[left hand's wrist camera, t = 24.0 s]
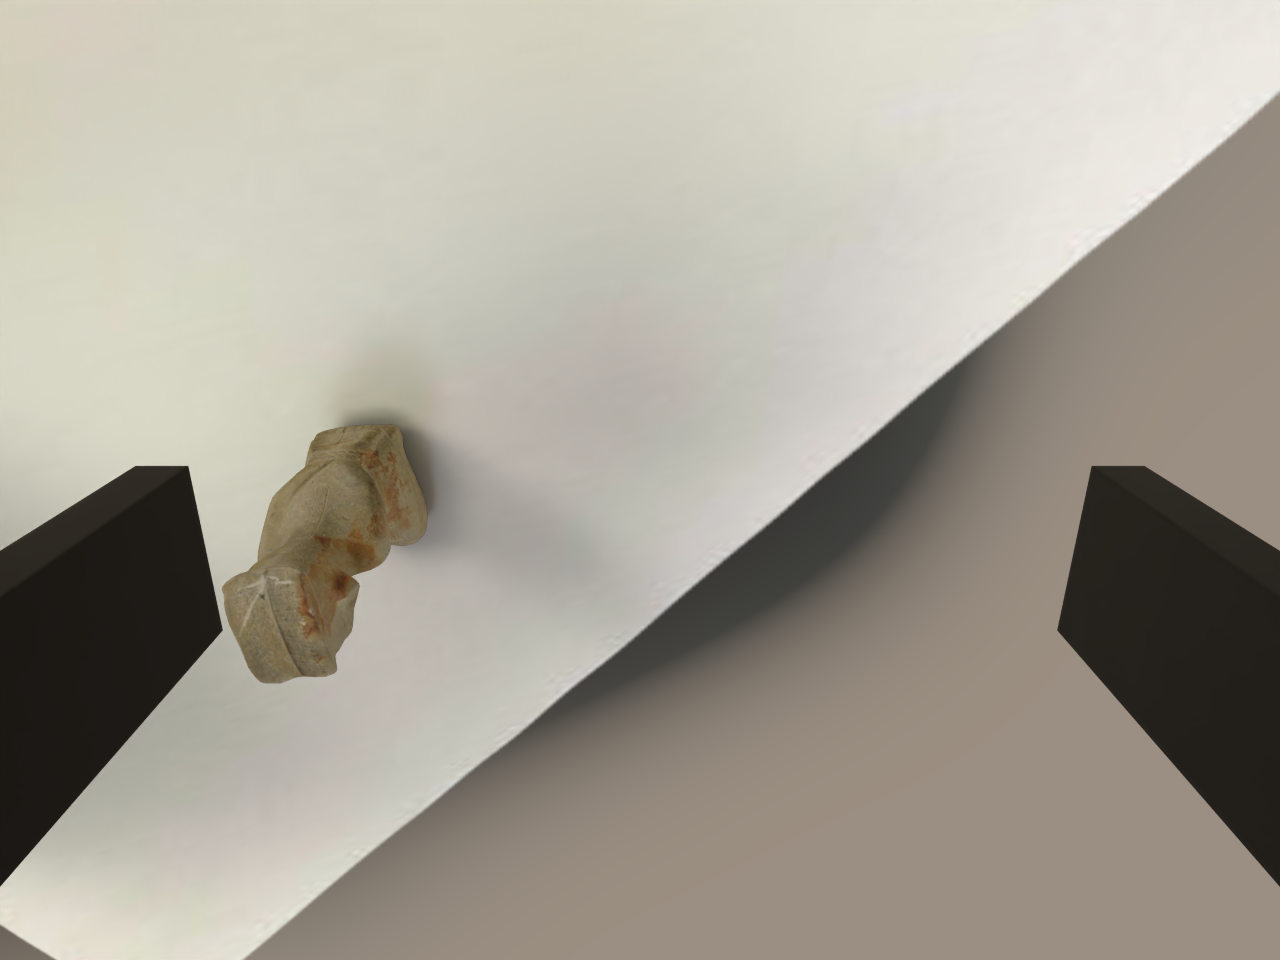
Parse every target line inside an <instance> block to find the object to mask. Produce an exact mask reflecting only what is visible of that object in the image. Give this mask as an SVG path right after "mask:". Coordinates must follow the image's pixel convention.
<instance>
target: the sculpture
mask: <svg viewBox="0 0 1280 960" xmlns="http://www.w3.org/2000/svg"><path fill="white" fill-rule="evenodd" d="M426 527H427V509H426V504H425V500H424V497H423V495H422V492H421V489H420V487H419V484H418V482H417V480H416V477H415V475H414V472H413V470H412V468H411V467H410V464H409V462H408V459H407V457H406V454H405V451H404V447H403V436H402V434H401V432H400V430H399V429H398V427H397V426H395V425H359V426H349V427H340V428H335V429H330V430H326V431H323V432H320V433H318V434H317V435H316V437H315V439H314V440H313V441H312V442H311V445H310V448H309V451H308V455H307V459H306V465H305V468H304V469H302V470H301V471H300V472H298V473H297V474H296V475H295V476H294V477H293V478H292V479H291V480H290V481H288V482H287V483H286V484H285V485H284V486H283V487H282V488H281V489H280V490H279V491H278V492H277V493H276V494H275V495H274V497H273V498H272V500H271V503H270V505H269V508H268V512H267V516H266V519H265V523H264V527H263V531H262V535H261V540H260V545H259V550H258V562H257V563H255V564H254V565H253V566H252V567H251V568H250V570H249V571H248V572H245V573H241V574H239V575H237V576H235V577H233V578H231V579H230V580H229V581H227V582H226V583H225V584H224V585H223V587H222V591H223V594H224V606H225V611H226V615H227V619H228V622H229V625H230V627H231V630H232V632H233V634H234V636H235V638H236V640H237V642H238V644H239V646H240V648H241V650H242V653H243V655H244V658H245V660H246V663H247V665H248V668H249V669H250V671H251V672H252V673H253V675H254V676H255V677H256V678H257V679H258V680H259V681H260V682H262V683H283V682H285V681H288V680H291V679H293V678H296V677H303V676H304V677H325V676H329V675H331V674H334V673H335V672H336V671H337V664H336V658H335V654H336V653H337V652H338V650H339V649H340V647H341V645H342V644H343V642H344V640H345V639H346V638H347V637H348V635H349V634H350V633H351V631H352V627H353V613H354V606H355V603H356V599H357V595H358V591H359V583H358V582H357V581H356V580H355V579H354V578H352V577H351V576H353V575H356V574H358V573H362V572H365V571H368V570H371V569H373V568H375V567H377V566H379V565H380V564H381V563H383V562H384V560H385V559H386V557H387V556H388V554H389V552H390V546H391V545H399V546H404V545H410V544H413V543H415V542H417V541H418V540H419V539H420V538H421V537H422V536H423V535H424V533H425V531H426Z"/></svg>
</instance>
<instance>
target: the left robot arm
mask: <svg viewBox="0 0 1280 960" xmlns="http://www.w3.org/2000/svg"><path fill="white" fill-rule="evenodd" d="M1057 630H1058V632H1059V633H1060V634H1061V635H1062V636H1063V637H1064V639H1065V640H1066V641H1067V642H1068V643H1069V644H1070V645H1071V647H1072V648H1073V649H1074V650H1075V651H1076V652H1077V653H1078V655H1079V656H1080V657H1081V658H1082V659H1083V660H1084V662H1085V663H1086V664H1087V665H1088V666H1089V667H1090V669H1091V670H1092V671H1093V672H1094V673H1095V674H1096V675H1097V677H1098V678H1099V679H1100V680H1101V681H1102V682H1103V683H1104V685H1105V686H1106V687H1107V688H1108V689H1109V690H1110V692H1111V693H1112V694H1113V695H1114V696H1115V697H1116V698H1117V700H1118V701H1119V702H1120V703H1121V704H1122V705H1123V707H1124V708H1125V709H1126V710H1127V711H1128V712H1129V713H1130V715H1131V716H1132V717H1133V718H1134V719H1135V720H1136V721H1137V723H1138V724H1139V725H1140V726H1141V727H1142V728H1143V730H1144V731H1145V732H1146V733H1147V734H1148V735H1149V736H1150V738H1151V739H1152V740H1153V741H1154V742H1155V743H1156V745H1157V746H1158V747H1159V748H1160V749H1161V750H1162V751H1163V753H1164V754H1165V755H1166V756H1167V757H1168V758H1169V760H1170V761H1171V762H1172V763H1173V764H1174V765H1175V766H1176V768H1177V769H1178V770H1179V771H1180V772H1181V773H1182V774H1183V776H1184V777H1185V778H1186V779H1187V780H1188V781H1189V783H1190V784H1191V785H1192V786H1193V787H1194V788H1195V789H1196V791H1197V792H1198V793H1199V794H1200V795H1201V796H1202V798H1203V799H1204V800H1205V801H1206V802H1207V803H1208V804H1209V806H1210V807H1211V808H1212V809H1213V810H1214V811H1215V813H1216V814H1217V815H1218V816H1219V817H1220V818H1221V819H1222V821H1223V822H1224V823H1225V824H1226V825H1227V826H1228V827H1229V829H1230V830H1231V831H1232V832H1233V833H1234V834H1235V836H1236V837H1237V838H1238V839H1239V840H1240V841H1241V842H1242V844H1243V845H1244V846H1245V847H1246V848H1247V849H1248V851H1249V852H1250V853H1251V854H1252V855H1253V856H1254V857H1255V858H1256V860H1257V861H1258V862H1259V863H1260V864H1261V865H1262V867H1263V868H1264V869H1265V870H1266V871H1267V872H1268V874H1269V875H1270V876H1271V877H1272V878H1273V879H1274V880H1275V882H1276V883H1277V884H1278V885H1279V886H1280V551H1279V550H1277V549H1276V548H1274V547H1273V546H1271V545H1269V544H1268V543H1266V542H1265V541H1263V540H1261V539H1260V538H1258V537H1257V536H1255V535H1254V534H1252V533H1250V532H1249V531H1247V530H1246V529H1244V528H1242V527H1241V526H1239V525H1238V524H1236V523H1234V522H1233V521H1231V520H1230V519H1228V518H1226V517H1225V516H1223V515H1222V514H1220V513H1218V512H1217V511H1215V510H1214V509H1212V508H1211V507H1209V506H1207V505H1206V504H1204V503H1203V502H1201V501H1199V500H1198V499H1196V498H1195V497H1193V496H1191V495H1190V494H1188V493H1187V492H1185V491H1183V490H1182V489H1180V488H1179V487H1177V486H1175V485H1174V484H1172V483H1171V482H1169V481H1167V480H1166V479H1164V478H1163V477H1161V476H1159V475H1158V474H1156V473H1155V472H1153V471H1151V470H1150V469H1148V468H1147V467H1145V466H1092V467H1091V472H1090V477H1089V482H1088V487H1087V491H1086V496H1085V501H1084V505H1083V510H1082V515H1081V520H1080V525H1079V529H1078V534H1077V539H1076V544H1075V548H1074V553H1073V558H1072V563H1071V567H1070V572H1069V577H1068V582H1067V587H1066V591H1065V596H1064V601H1063V606H1062V610H1061V615H1060V620H1059V625H1058V629H1057ZM222 631H223V629H222V625H221V620H220V615H219V610H218V606H217V601H216V596H215V591H214V587H213V582H212V577H211V572H210V567H209V563H208V558H207V553H206V548H205V544H204V539H203V534H202V529H201V525H200V520H199V515H198V510H197V505H196V501H195V496H194V491H193V486H192V482H191V477H190V472H189V467H188V466H135V467H133V468H132V469H130V470H128V471H127V472H125V473H124V474H122V475H120V476H119V477H117V478H116V479H114V480H113V481H111V482H109V483H108V484H106V485H105V486H103V487H101V488H100V489H98V490H97V491H95V492H93V493H92V494H90V495H89V496H87V497H85V498H84V499H82V500H81V501H79V502H77V503H76V504H74V505H73V506H71V507H69V508H68V509H66V510H65V511H63V512H61V513H60V514H58V515H57V516H55V517H54V518H52V519H50V520H49V521H47V522H46V523H44V524H42V525H41V526H39V527H38V528H36V529H34V530H33V531H31V532H30V533H28V534H26V535H25V536H23V537H22V538H20V539H18V540H17V541H15V542H14V543H12V544H10V545H9V546H7V547H6V548H4V549H3V550H1V551H0V886H1V885H2V884H3V883H4V882H5V880H6V879H7V878H8V877H9V876H10V875H11V874H12V872H13V871H14V870H15V869H16V868H17V867H18V865H19V864H20V863H21V862H22V861H23V860H24V859H25V857H26V856H27V855H28V854H29V853H30V852H31V851H32V849H33V848H34V847H35V846H36V845H37V844H38V842H39V841H40V840H41V839H42V838H43V837H44V836H45V834H46V833H47V832H48V831H49V830H50V829H51V827H52V826H53V825H54V824H55V823H56V822H57V821H58V819H59V818H60V817H61V816H62V815H63V814H64V813H65V811H66V810H67V809H68V808H69V807H70V806H71V804H72V803H73V802H74V801H75V800H76V799H77V798H78V796H79V795H80V794H81V793H82V792H83V791H84V789H85V788H86V787H87V786H88V785H89V784H90V783H91V781H92V780H93V779H94V778H95V777H96V776H97V774H98V773H99V772H100V771H101V770H102V769H103V768H104V766H105V765H106V764H107V763H108V762H109V761H110V760H111V758H112V757H113V756H114V755H115V754H116V753H117V751H118V750H119V749H120V748H121V747H122V746H123V745H124V743H125V742H126V741H127V740H128V739H129V738H130V736H131V735H132V734H133V733H134V732H135V731H136V730H137V728H138V727H139V726H140V725H141V724H142V723H143V722H144V720H145V719H146V718H147V717H148V716H149V715H150V713H151V712H152V711H153V710H154V709H155V708H156V707H157V705H158V704H159V703H160V702H161V701H162V700H163V698H164V697H165V696H166V695H167V694H168V693H169V692H170V690H171V689H172V688H173V687H174V686H175V685H176V684H177V682H178V681H179V680H180V679H181V678H182V677H183V675H184V674H185V673H186V672H187V671H188V670H189V669H190V667H191V666H192V665H193V664H194V663H195V662H196V660H197V659H198V658H199V657H200V656H201V655H202V654H203V652H204V651H205V650H206V649H207V648H208V647H209V645H210V644H211V643H212V642H213V641H214V640H215V639H216V637H217V636H218V635H219V634H220V633H221V632H222Z"/></svg>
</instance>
